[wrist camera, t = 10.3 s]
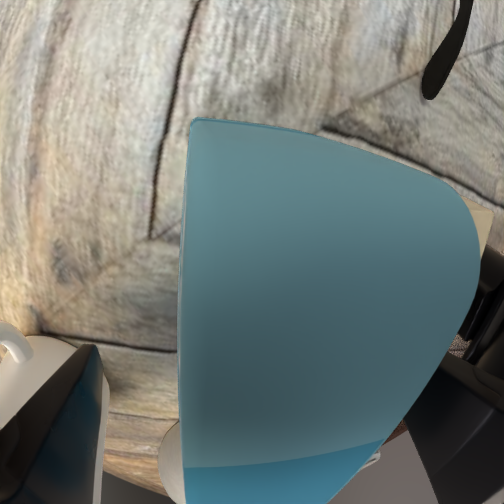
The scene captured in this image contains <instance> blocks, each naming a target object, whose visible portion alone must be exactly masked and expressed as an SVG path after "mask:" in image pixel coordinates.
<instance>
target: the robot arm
mask: <svg viewBox="0 0 504 504" xmlns="http://www.w3.org/2000/svg"><path fill="white" fill-rule="evenodd" d="M457 334H458V335H459V336H460V337H461V338H462V339H463V340H464V341H470V342H471V343H470V344H469V346H468V348H467V349H466V351H465V352H464V354H463V356H462V357H461V358H459V357H457V356H455V355H453V354H451V353H449V352H446V354H445V356H444V357H443V359H442V361H441V362H440V364H439V366H438V367H437V369H436V370H435V372H434V374H433V375H432V377H431V378H430V380H429V381H428V383H427V385H426V386H425V388H424V389H423V391H422V392H421V394H420V395H419V396H418V398H417V399H416V401H415V402H414V404H413V405H412V406H411V408H410V409H409V411H408V412H407V413H406V415H405V416H404V417H403V420H404V422H405V424H406V426H407V429H408V431H409V433H410V435H411V437H412V440H413V442H414V444H415V447H416V449H417V451H418V454H419V456H420V458H421V461H422V463H423V465H424V468H425V470H426V473H427V475H428V477H429V479H430V482H431V485H432V488H433V490H434V493H435V495H436V498H437V500H438V503H439V504H482V503H483V502H484V504H504V256H503V255H502V254H500V253H499V252H497V251H496V250H494V249H493V248H491V247H490V246H488V245H487V244H486V245H485V248H484V252H483V255H482V258H481V261H480V274H479V281H478V286H477V289H476V293H475V297H474V299H473V302H472V304H471V307H470V309H469V311H468V313H467V315H466V317H465V319H464V321H463V323H462V325H461V327H460V329H459V331H458V332H457ZM102 385H103V364H102V361H101V358H100V355H99V351H98V348H97V346H96V345H94V344H83V345H81V346H80V347H79V348H78V349H77V350H76V351H75V352H74V353H73V354H72V355H71V356H70V357H69V358H68V359H67V360H66V361H65V362H64V363H63V364H62V365H61V366H60V367H59V368H58V369H57V370H56V371H55V373H54V374H53V375H52V376H51V377H50V378H49V379H48V380H47V381H46V382H45V383H44V384H43V385H42V386H41V387H40V388H39V389H38V390H37V391H36V392H35V393H34V394H33V396H32V397H31V398H30V399H29V400H28V401H27V402H26V403H25V404H24V405H23V406H22V407H21V408H20V410H19V411H18V412H17V413H16V415H14V416H13V417H12V418H11V419H10V420H9V421H8V423H7V424H6V425H5V426H4V427H3V428H2V429H1V430H0V504H93V492H94V477H95V465H96V455H97V446H98V437H99V429H100V422H101V411H102Z"/></svg>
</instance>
